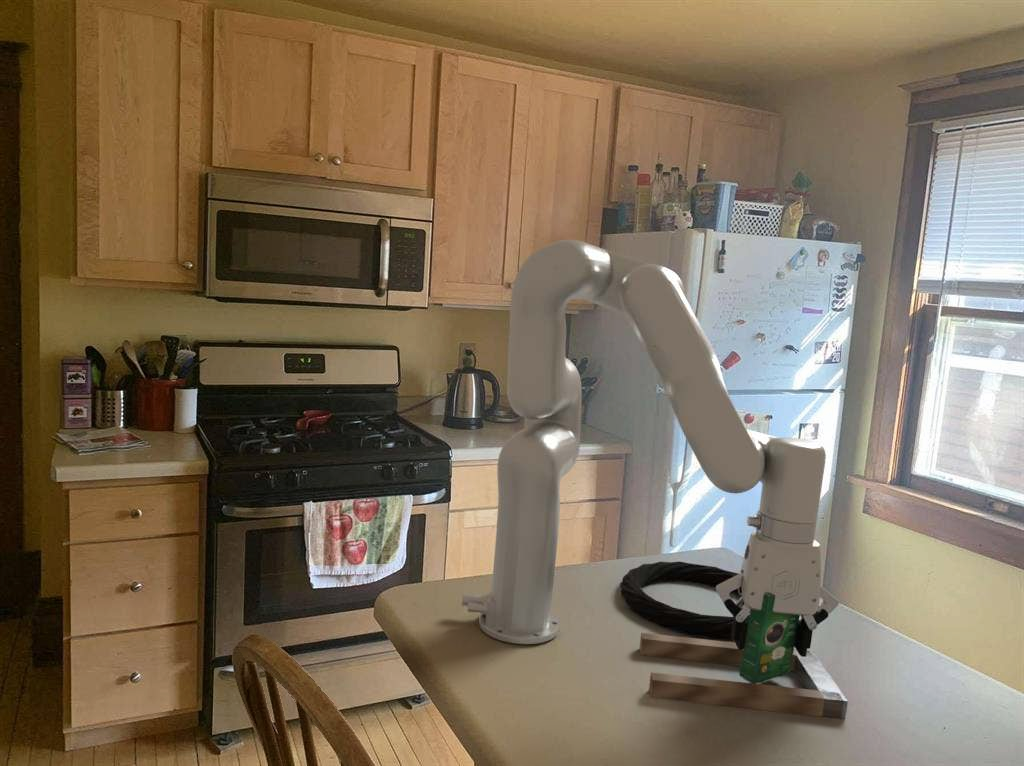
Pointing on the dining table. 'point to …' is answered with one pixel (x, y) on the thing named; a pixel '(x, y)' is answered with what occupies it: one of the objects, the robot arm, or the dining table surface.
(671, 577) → the cable lock
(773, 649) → the coffee box
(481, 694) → the dining table surface
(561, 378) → the robot arm
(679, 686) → the frame
